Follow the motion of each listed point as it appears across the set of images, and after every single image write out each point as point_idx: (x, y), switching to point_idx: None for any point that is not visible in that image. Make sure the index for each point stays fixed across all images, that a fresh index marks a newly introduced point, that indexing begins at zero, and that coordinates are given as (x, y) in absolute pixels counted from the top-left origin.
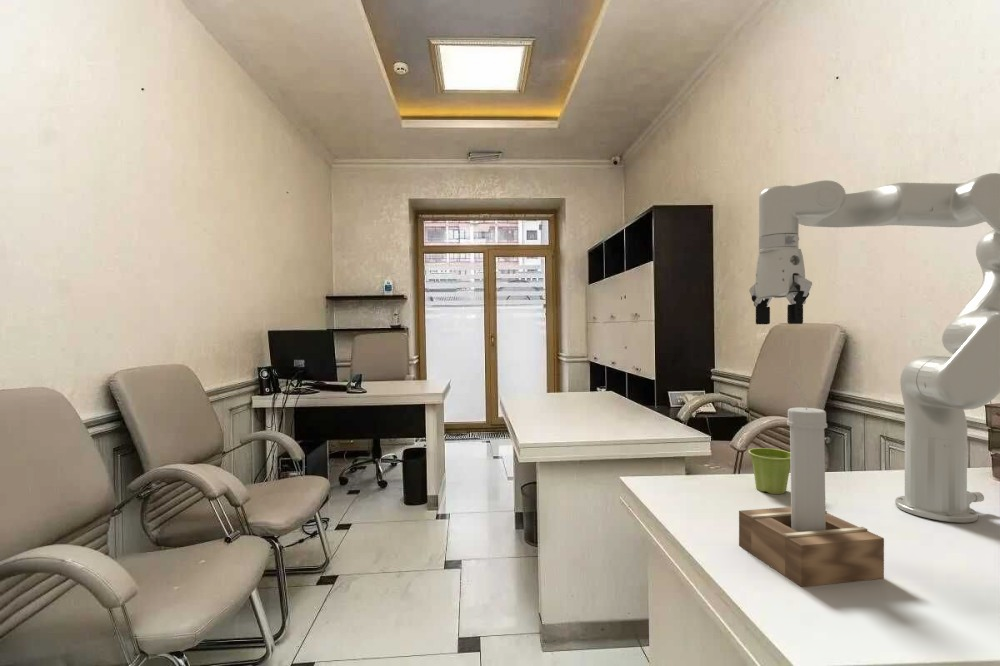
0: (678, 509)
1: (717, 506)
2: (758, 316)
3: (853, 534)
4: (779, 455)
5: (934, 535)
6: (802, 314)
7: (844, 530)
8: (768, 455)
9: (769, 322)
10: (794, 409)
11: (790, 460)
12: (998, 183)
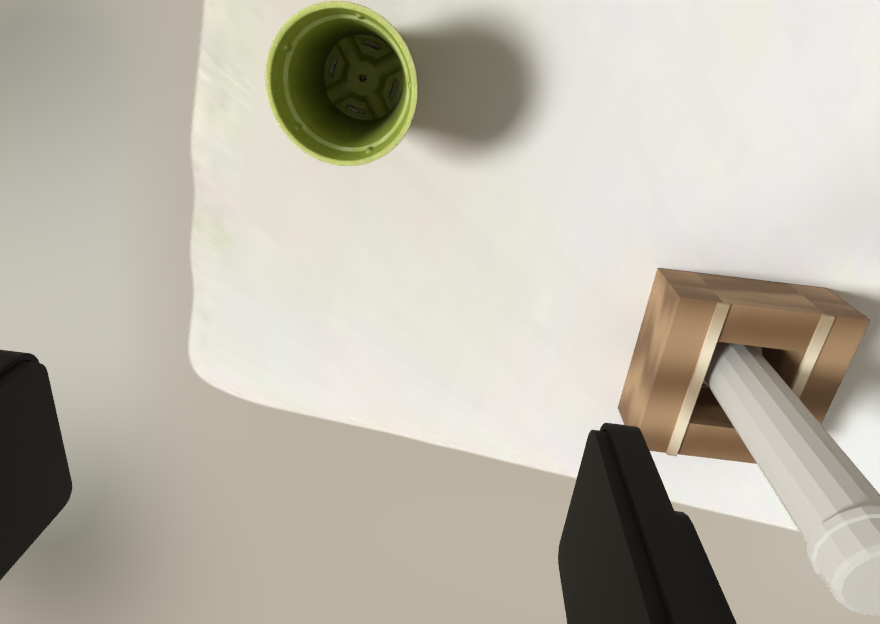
0: (428, 395)
1: (436, 310)
2: (9, 566)
3: (826, 355)
4: (316, 18)
5: None
6: (670, 514)
7: (812, 363)
8: (290, 43)
9: (32, 371)
10: (863, 603)
11: (771, 486)
12: None
